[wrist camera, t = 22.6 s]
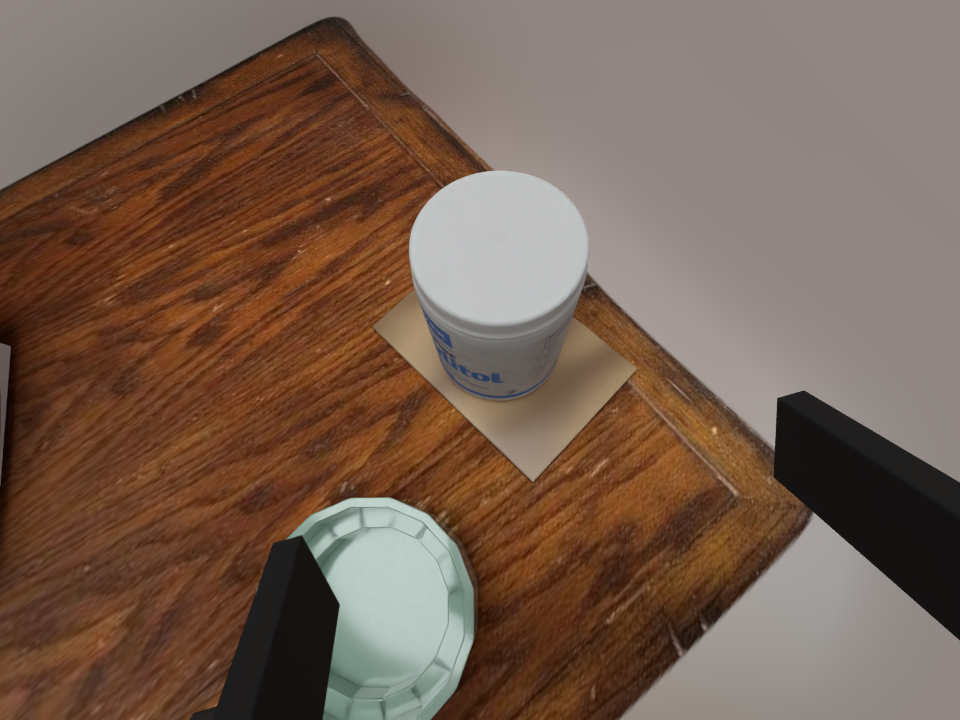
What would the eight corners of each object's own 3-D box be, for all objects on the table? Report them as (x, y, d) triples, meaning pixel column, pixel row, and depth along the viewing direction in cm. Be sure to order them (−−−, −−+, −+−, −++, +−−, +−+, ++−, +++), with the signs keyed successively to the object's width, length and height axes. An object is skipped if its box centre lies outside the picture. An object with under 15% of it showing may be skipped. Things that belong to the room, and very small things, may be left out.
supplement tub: (420, 377, 37) (367, 286, 23) (468, 278, 40) (447, 145, 26) (535, 423, 35) (553, 356, 21) (577, 317, 38) (617, 196, 24)
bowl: (519, 601, 32) (521, 614, 27) (373, 770, 29) (347, 816, 24) (391, 464, 35) (372, 454, 31) (251, 601, 32) (207, 614, 28)
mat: (635, 370, 37) (637, 368, 36) (532, 483, 34) (533, 482, 34) (473, 239, 42) (473, 235, 41) (373, 329, 39) (371, 326, 39)
